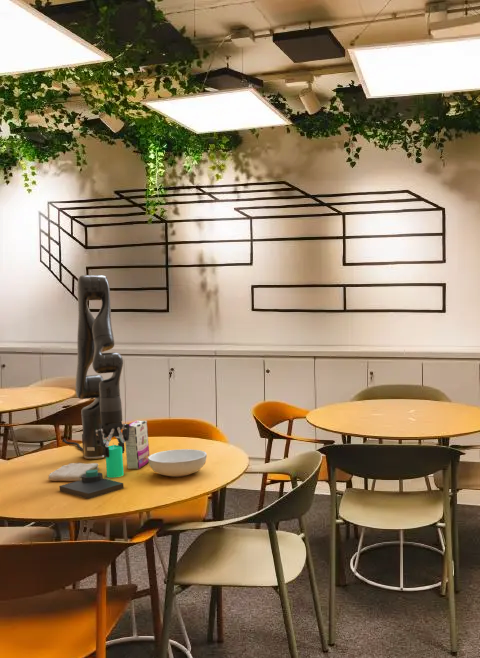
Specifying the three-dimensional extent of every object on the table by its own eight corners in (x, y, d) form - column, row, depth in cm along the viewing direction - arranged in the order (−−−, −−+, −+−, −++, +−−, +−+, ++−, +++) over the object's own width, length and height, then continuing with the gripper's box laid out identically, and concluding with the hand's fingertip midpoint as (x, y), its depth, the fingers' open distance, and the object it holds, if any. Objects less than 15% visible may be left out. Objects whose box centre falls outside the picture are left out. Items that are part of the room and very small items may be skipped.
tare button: (83, 476, 232) (83, 471, 231) (93, 473, 235) (92, 468, 234) (90, 478, 229) (90, 473, 229) (100, 475, 232) (100, 470, 232)
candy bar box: (138, 461, 263) (135, 420, 261) (150, 462, 262) (147, 420, 260) (126, 469, 252) (123, 426, 250) (138, 469, 251) (136, 426, 249)
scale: (58, 491, 226) (58, 481, 225) (94, 481, 237) (94, 471, 237) (88, 499, 216) (87, 488, 215) (124, 488, 227) (124, 478, 226)
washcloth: (100, 469, 253) (99, 461, 253) (80, 482, 236) (79, 474, 235) (70, 469, 255) (69, 461, 255) (48, 482, 237) (47, 473, 237)
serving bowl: (216, 467, 249) (215, 449, 249) (191, 483, 230) (190, 463, 229) (166, 464, 256) (165, 447, 255) (137, 479, 237) (136, 460, 236)
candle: (108, 473, 246) (106, 441, 245) (124, 472, 247) (122, 440, 245) (105, 478, 240) (103, 445, 239) (122, 477, 241) (120, 444, 239)
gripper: (120, 405, 248) (123, 449, 250) (87, 411, 237) (90, 458, 239) (133, 406, 243) (136, 452, 246) (100, 413, 232) (104, 460, 235)
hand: (114, 455), depth 242 cm, fingers closed on candle, 6 cm apart
